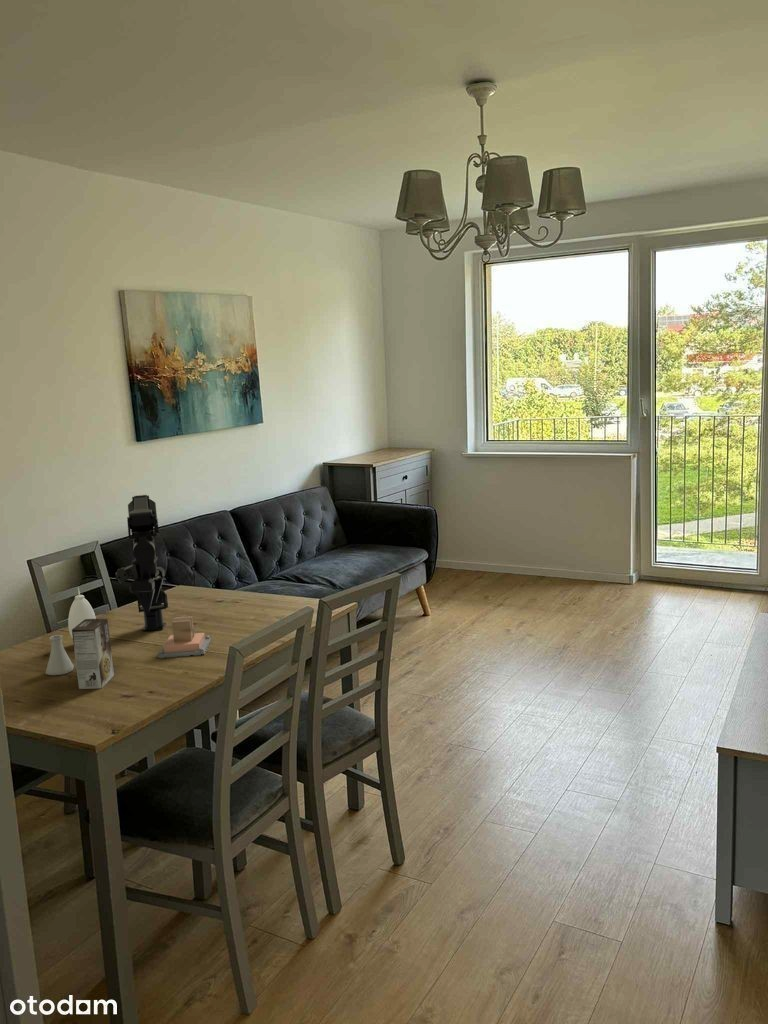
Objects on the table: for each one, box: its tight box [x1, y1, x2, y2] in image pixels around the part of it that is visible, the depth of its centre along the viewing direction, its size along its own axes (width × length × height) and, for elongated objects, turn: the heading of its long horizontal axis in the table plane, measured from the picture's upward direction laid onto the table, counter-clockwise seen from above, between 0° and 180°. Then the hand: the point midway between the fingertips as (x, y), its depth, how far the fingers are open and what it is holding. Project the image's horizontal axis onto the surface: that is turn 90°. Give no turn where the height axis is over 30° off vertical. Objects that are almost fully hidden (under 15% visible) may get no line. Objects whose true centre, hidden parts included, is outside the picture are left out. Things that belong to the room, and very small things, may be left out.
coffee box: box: [72, 618, 115, 690], centre depth 213 cm, size 9×6×16 cm
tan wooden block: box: [171, 615, 195, 642], centre depth 237 cm, size 5×5×6 cm
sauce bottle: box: [67, 587, 97, 640], centre depth 246 cm, size 8×8×18 cm
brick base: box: [157, 632, 212, 659], centre depth 238 cm, size 13×13×3 cm
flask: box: [45, 634, 75, 676], centre depth 224 cm, size 7×7×10 cm
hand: (150, 608), depth 236 cm, fingers open, 9 cm apart
